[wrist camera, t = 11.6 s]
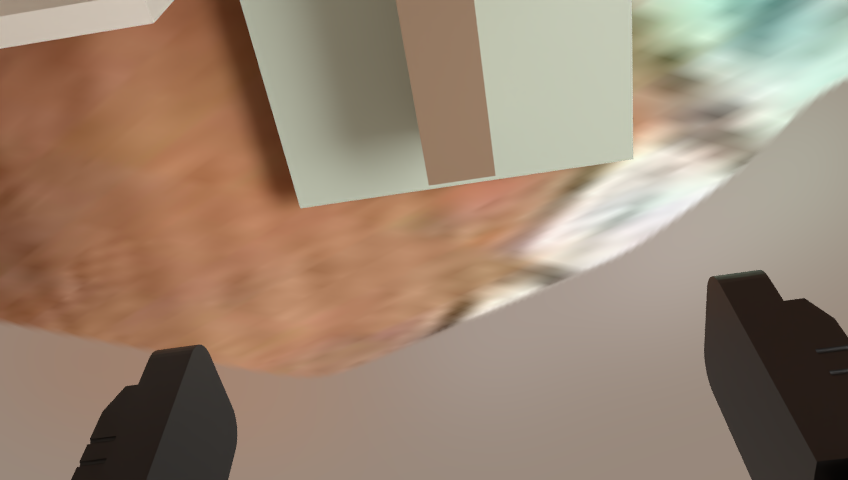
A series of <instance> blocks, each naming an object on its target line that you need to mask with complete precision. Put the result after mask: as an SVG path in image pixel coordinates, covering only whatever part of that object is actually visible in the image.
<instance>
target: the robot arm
mask: <svg viewBox="0 0 848 480" xmlns="http://www.w3.org/2000/svg"><path fill="white" fill-rule="evenodd" d="M704 357H705V365H706V371H707V376H708V380H709V383H710V386H711V389H712V391H713V394H714V396H715V398H716V401H717V403H718V405H719V407H720V409H721V412H722V414H723V416H724V418H725V420H726V423H727V425H728V427H729V430H730V432H731V434H732V436H733V439H734V441H735V443H736V445H737V447H738V450H739V452H740V454H741V456H742V459H743V461H744V463H745V465H746V467H747V470H748V472H749V474H750V477H751V479H752V480H848V337H847V336H846V334H845V333H844V331H843V330H842V328H841V327H840V326H839V324H838V323H837V321H836V320H835V319H834V318H833V317H831V316H830V315H828V314H827V313H825V312H824V311H822V310H821V309H819V308H818V307H816V306H815V305H814V304H812V303H810V302H809V301H808V300H806V299H805V298H803V299H795V300H788V301H783V299H782V297H781V296H780V294H779V293H778V291H777V290H776V288H775V287H774V285H773V283H772V282H771V280H770V279H769V277H768V276H767V275H766V273H765V272H764V271H762V270H756V271H749V272H741V273H734V274H727V275H719V276H712V277H710V278H709V281H708V285H707V301H706V324H705V344H704ZM90 441H91V442H90V444H88V445H87V447H86V449H85V451H84V453H83V455H82V458H81V460H80V467H77V468H76V471H75V473H74V475H73V477H72V479H71V480H228V478H229V473H230V469H231V466H232V462H233V458H234V453H235V450H236V444H237V424H236V418H235V413H234V410H233V408H232V405H231V403H230V401H229V398H228V396H227V394H226V391H225V389H224V387H223V384H222V382H221V380H220V377H219V375H218V373H217V371H216V368H215V366H214V363H213V361H212V359H211V356H210V354H209V352H208V351H207V349H206V348H205V347H204V346H203V345H193V346H185V347H178V348H171V349H163V350H157V351H155V352H153V353H152V355H151V356H150V358H149V360H148V363H147V365H146V367H145V370H144V372H143V374H142V377H141V379H140V382H139V384H138V385H132V386H126V387H125V388H124V389H123V390H122V391H121V392H120V393H119V394H118V395H117V396H116V398H115V399H114V400H113V401H112V402H111V403H110V404H109V405H108V406H107V408H106V409H105V410H104V411H103V412H102V414H101V416H100V418H99V420H98V423H97V425H96V427H95V429H94V432H93V434H92V436H91V438H90Z"/></svg>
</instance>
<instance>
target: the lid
mask: <svg viewBox="0 0 848 480" xmlns="http://www.w3.org/2000/svg"><path fill="white" fill-rule="evenodd" d="M240 3H241V6H242V10H243V13H244V17H245V20H246V23H247V27H248V30H249V34H250V37H251V41H252V44H253V47H254V51H255V54H256V58H257V61H258V65H259V68H260V71H261V75H262V78H263V82H264V85H265V89H266V92H267V95H268V99H269V102H270V106H271V109H272V113H273V116H274V120H275V123H276V126H277V130H278V133H279V137H280V140H281V144H282V147H283V150H284V154H285V157H286V161H287V164H288V168H289V171H290V174H291V178H292V181H293V185H294V188H295V192H296V195H297V198H298V202H299V205H300V208H306V207H313V206H319V205H326V204H333V203H340V202H347V201H353V200H360V199H367V198H374V197H380V196H387V195H394V194H401V193H407V192H414V191H421V190H428V189H434V188H441V187H448V186H455V185H462V184H468V183H475V182H482V181H489V180H495V179H502V178H509V177H516V176H522V175H529V174H536V173H543V172H549V171H556V170H563V169H570V168H577V167H583V166H590V165H597V164H604V163H610V162H617V161H624V160H631V159H633V85H632V0H240Z"/></svg>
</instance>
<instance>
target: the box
mask: <svg viewBox="0 0 848 480" xmlns="http://www.w3.org/2000/svg"><path fill="white" fill-rule="evenodd" d="M173 1H174V0H0V49H1V48H7V47H13V46H19V45H25V44H31V43H37V42H43V41H50V40H56V39H62V38H68V37H74V36H80V35H86V34H92V33H98V32H104V31H110V30H116V29H122V28H128V27H134V26H140V25H146V24H152V23H154V22H155V21H156V20H157V19H158V18H159V17H160V16H161V14H162V13H163V12H164V11H165V10H166V9H167V8H168V6H169V5H170V4H171V3H172V2H173Z"/></svg>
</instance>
